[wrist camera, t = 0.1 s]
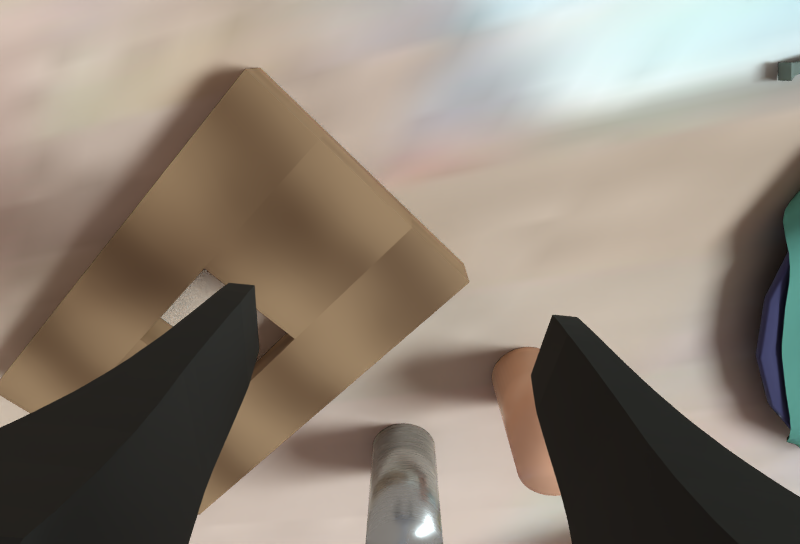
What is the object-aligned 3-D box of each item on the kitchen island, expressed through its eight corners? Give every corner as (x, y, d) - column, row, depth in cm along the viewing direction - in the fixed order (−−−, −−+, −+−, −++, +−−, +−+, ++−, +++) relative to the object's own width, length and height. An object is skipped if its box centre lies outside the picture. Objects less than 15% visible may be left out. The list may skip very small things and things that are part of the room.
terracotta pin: (520, 412, 26) (552, 507, 20) (477, 375, 25) (499, 464, 19) (572, 375, 25) (620, 464, 19) (530, 334, 24) (568, 416, 18)
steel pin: (403, 480, 28) (404, 582, 23) (360, 447, 27) (349, 547, 22) (447, 447, 27) (459, 546, 22) (403, 413, 26) (404, 507, 21)
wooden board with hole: (212, 485, 28) (199, 514, 26) (21, 365, 25) (-9, 390, 23) (463, 264, 22) (469, 282, 21) (260, 68, 19) (245, 68, 17)
